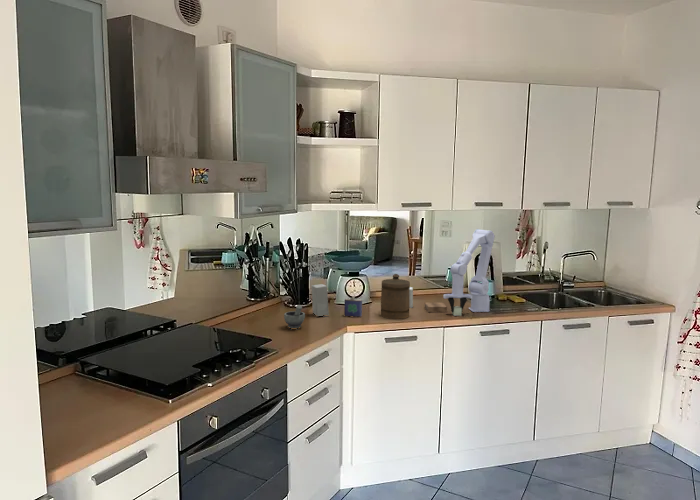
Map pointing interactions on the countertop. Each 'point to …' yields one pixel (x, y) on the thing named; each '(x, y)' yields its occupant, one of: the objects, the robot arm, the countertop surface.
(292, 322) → the mortar and pestle
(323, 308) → the skincare box
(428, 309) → the base block
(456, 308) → the cube
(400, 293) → the wooden container
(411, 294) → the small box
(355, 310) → the flask
